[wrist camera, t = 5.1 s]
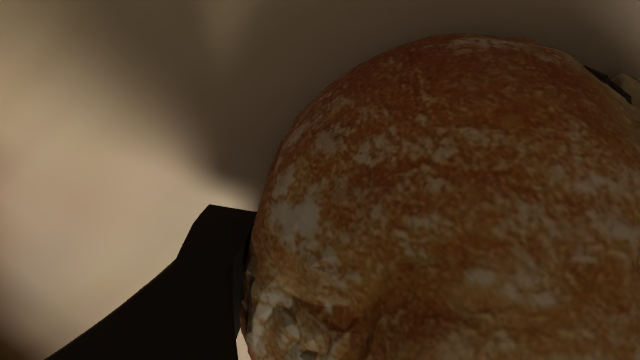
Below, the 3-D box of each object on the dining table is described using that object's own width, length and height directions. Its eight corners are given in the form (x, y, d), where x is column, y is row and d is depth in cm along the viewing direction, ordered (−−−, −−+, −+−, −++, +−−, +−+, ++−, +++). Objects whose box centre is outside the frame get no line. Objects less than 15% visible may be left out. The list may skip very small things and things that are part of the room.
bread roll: (621, 146, 13) (1160, 184, 5) (483, 433, 14) (760, 845, 6) (330, 10, 11) (448, -236, 4) (196, 340, 12) (57, 723, 4)
